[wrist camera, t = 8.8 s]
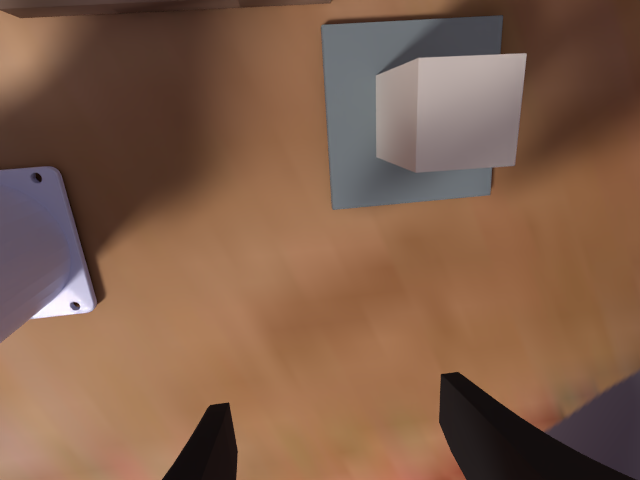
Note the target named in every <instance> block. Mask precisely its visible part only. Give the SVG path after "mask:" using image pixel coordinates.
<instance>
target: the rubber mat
mask: <svg viewBox="0 0 640 480" xmlns="http://www.w3.org/2000/svg"><path fill="white" fill-rule="evenodd" d="M502 24H503V15H500V16H481V17H462V18H443V19H424V20H405V21H386V22H367V23H348V24H329V25H322V26H321V36H322V52H323V69H324V85H325V102H326V118H327V135H328V152H329V168H330V185H331V201H332V209H333V210H336V209H347V208H357V207H368V206H379V205H389V204H400V203H411V202H421V201H432V200H442V199H453V198H464V197H474V196H485V195H490V190H491V176H492V167H491V168H477V169H462V170H448V171H434V172H419V173H415V172H412V171H410V170H407V169H405V168H402V167H400V166H397V165H395V164H392V163H390V162H387V161H385V160H382V159H380V158H377V157H376V75H378V74H381V73H383V72H386V71H388V70H390V69H393V68H395V67H398V66H400V65H403V64H405V63H407V62H410V61H412V60H415V59H417V58H426V57H450V56H474V55H497V54H500V52H501V38H502Z"/></svg>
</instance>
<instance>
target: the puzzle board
mask: <svg viewBox="0 0 640 480" xmlns="http://www.w3.org/2000/svg"><path fill="white" fill-rule="evenodd" d="M330 2H331V0H0V10H1V11H4V12H6V13H9V14H11V15H14V16H17V17H19V18H32V17H53V16H74V15H95V14H116V13H136V12H157V11H178V10H199V9H220V8H241V7H262V6H282V5H303V4H324V3H330Z"/></svg>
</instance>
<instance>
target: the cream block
mask: <svg viewBox="0 0 640 480" xmlns="http://www.w3.org/2000/svg"><path fill="white" fill-rule="evenodd" d="M526 56H527V53H521V54H497V55H474V56H450V57H426V58H417V59H415V60H412V61H410V62H407V63H405V64H403V65H400V66H398V67H395V68H393V69H390V70H388V71H386V72H383V73H381V74H378V75H376V157H377V158H380V159H382V160H385V161H387V162H390V163H392V164H395V165H397V166H400V167H402V168H405V169H407V170H410V171H412V172H415V173H419V172H434V171H448V170H462V169H477V168H491V167H505V166H515V159H516V150H517V140H518V131H519V122H520V112H521V103H522V93H523V84H524V75H525V65H526Z"/></svg>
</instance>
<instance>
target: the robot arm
mask: <svg viewBox="0 0 640 480" xmlns="http://www.w3.org/2000/svg"><path fill="white" fill-rule="evenodd" d="M36 173H38V174H40V175H41V177H42V181H41V182H39V181H38V180H37V179H36V178H35V174H36ZM73 302H77V303H79V305H80V307H77V306H75V305H74V303H73ZM96 305H97V300H96V296H95V293H94V289H93V286H92V282H91V279H90V275H89V271H88V268H87V264H86V261H85V257H84V254H83V250H82V247H81V243H80V239H79V236H78V232H77V229H76V225H75V222H74V218H73V215H72V211H71V207H70V204H69V200H68V197H67V193H66V190H65V186H64V182H63V179H62V175H61V173H60V171H59V170H58V169H56V168H54V167H52V166H42V167H29V168H17V169H4V170H0V343H1V342H2V341H4V340H5V339H6V338H7V337H8V336H10V335H11V334H12V333H13V332H14V331H16V330H17V329H18V328H19V327H21V326H22V325H23V324H24V323H25V322H27V321H28V320H29V319H36V318H45V317H54V316H63V315H72V314H81V313H88V312H91V311H92V310H93V309H94V308H95V307H96ZM439 423H440V425H441V428H442V430H443V433H444V435H445V438H446V440H447V443H448V445H449V447H450V450H451V452H452V454H453V456H454V458H455V459H456V461H457V463H458V465H459V467H460V469H461V470H462V472H463V474H464V476H465V478H466V480H635V479H633V478H631V477H629V476H627V475H624V474H622V473H620V472H618V471H616V470H614V469H611V468H609V467H607V466H605V465H603V464H601V463H599V462H597V461H595V460H593V459H591V458H589V457H587V456H585V455H583V454H581V453H579V452H577V451H575V450H574V449H572V448H570V447H568V446H566V445H565V444H563V443H561V442H559V441H558V440H556V439H554V438H552V437H551V436H549V435H547V434H546V433H544V432H543V431H541V430H539V429H538V428H536V427H535V426H533V425H532V424H530V423H528V422H527V421H525V420H524V419H522V418H521V417H519V416H518V415H516V414H515V413H514V412H512V411H511V410H509V409H508V408H506V407H505V406H504V405H502V404H501V403H499V402H498V401H497V400H495V399H494V398H493V397H491V396H490V395H488V394H487V393H486V392H484V391H483V390H482V389H480V388H479V387H478V386H476V385H475V384H474V383H472V382H471V381H470V380H468V379H467V378H466V377H464V376H463V375H462V374H460V373H459V372H454V373H447V374H441V386H440V413H439ZM237 453H238V451H237V445H236V439H235V434H234V428H233V422H232V416H231V411H230V405H229V403H222V404H215V405H210V406H209V407H208V408H207V410H206V412H205V414H204V415H203V417H202V419H201V421H200V422H199V424H198V426H197V427H196V429H195V431H194V432H193V434H192V436H191V437H190V439H189V441H188V442H187V444H186V445H185V447H184V448H183V450H182V451H181V453H180V454H179V456H178V458H177V459H176V461H175V462H174V464H173V465H172V466H171V468H170V469H169V471H168V472H167V473H166V475H165V476H164V478H163V479H162V480H236V473H237Z"/></svg>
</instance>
